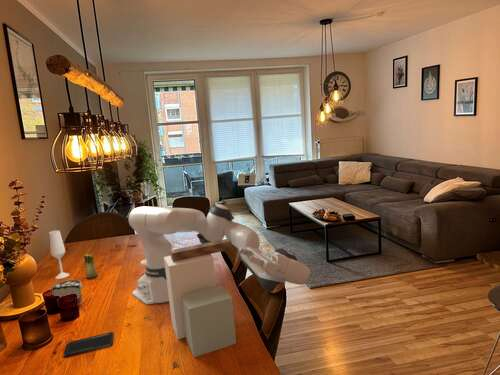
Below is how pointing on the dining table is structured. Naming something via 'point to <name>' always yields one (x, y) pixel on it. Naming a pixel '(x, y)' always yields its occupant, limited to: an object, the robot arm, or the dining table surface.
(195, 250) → the walnut bar
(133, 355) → the dining table surface
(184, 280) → the white pedestal
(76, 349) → the phone
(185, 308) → the sage base
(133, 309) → the dining table surface
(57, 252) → the champagne flute
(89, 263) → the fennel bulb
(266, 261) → the robot arm
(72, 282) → the food container
